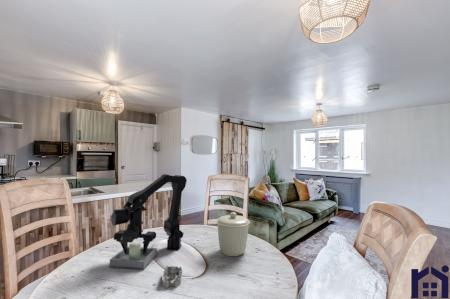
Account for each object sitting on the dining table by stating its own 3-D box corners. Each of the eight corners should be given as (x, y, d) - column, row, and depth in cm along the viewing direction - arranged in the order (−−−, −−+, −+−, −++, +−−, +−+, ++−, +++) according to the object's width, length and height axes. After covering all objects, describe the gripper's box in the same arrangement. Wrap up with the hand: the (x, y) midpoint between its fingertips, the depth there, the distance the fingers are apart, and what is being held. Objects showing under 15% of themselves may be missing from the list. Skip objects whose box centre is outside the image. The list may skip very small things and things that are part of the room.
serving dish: (156, 255, 110) (156, 248, 110) (143, 269, 96) (144, 261, 96) (126, 253, 112) (126, 246, 112) (109, 267, 98) (109, 259, 98)
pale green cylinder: (142, 257, 106) (142, 242, 106) (137, 262, 101) (137, 247, 102) (132, 256, 107) (132, 242, 107) (126, 261, 102) (127, 246, 102)
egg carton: (180, 288, 84) (180, 277, 84) (160, 288, 84) (160, 278, 84) (183, 273, 95) (183, 263, 95) (165, 273, 94) (165, 264, 94)
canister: (231, 264, 103) (232, 219, 103) (208, 250, 117) (209, 211, 117) (256, 253, 115) (257, 213, 115) (233, 242, 129) (233, 206, 129)
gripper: (106, 225, 97) (105, 260, 97) (146, 227, 96) (145, 263, 95) (120, 218, 108) (119, 249, 108) (157, 219, 107) (156, 251, 106)
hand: (134, 253), depth 104 cm, fingers open, 9 cm apart
